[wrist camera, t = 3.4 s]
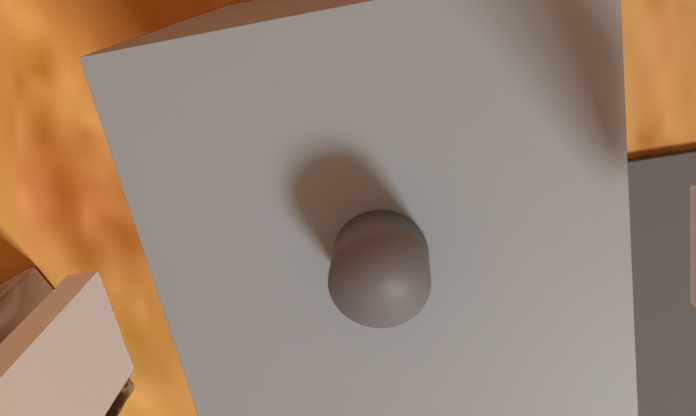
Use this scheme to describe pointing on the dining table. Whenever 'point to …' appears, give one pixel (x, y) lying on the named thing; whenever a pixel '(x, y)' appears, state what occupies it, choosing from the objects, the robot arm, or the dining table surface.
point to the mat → (663, 283)
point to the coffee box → (21, 299)
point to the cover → (384, 204)
